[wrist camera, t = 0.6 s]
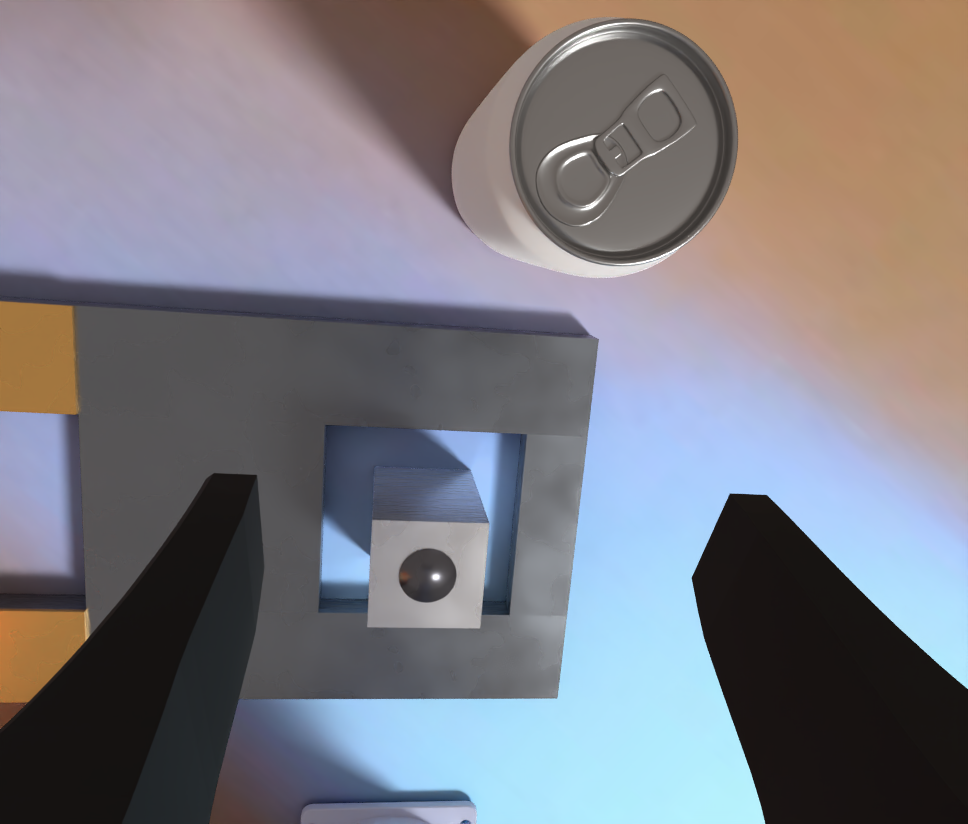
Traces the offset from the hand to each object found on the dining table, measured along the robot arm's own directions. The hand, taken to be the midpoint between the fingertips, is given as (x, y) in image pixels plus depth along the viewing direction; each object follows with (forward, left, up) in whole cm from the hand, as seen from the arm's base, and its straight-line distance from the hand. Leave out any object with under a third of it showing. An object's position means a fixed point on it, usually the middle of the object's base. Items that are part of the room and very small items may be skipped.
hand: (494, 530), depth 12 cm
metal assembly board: (-7, +8, -20) cm, 23 cm away
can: (+7, -4, -20) cm, 21 cm away
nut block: (-7, 0, -20) cm, 21 cm away
